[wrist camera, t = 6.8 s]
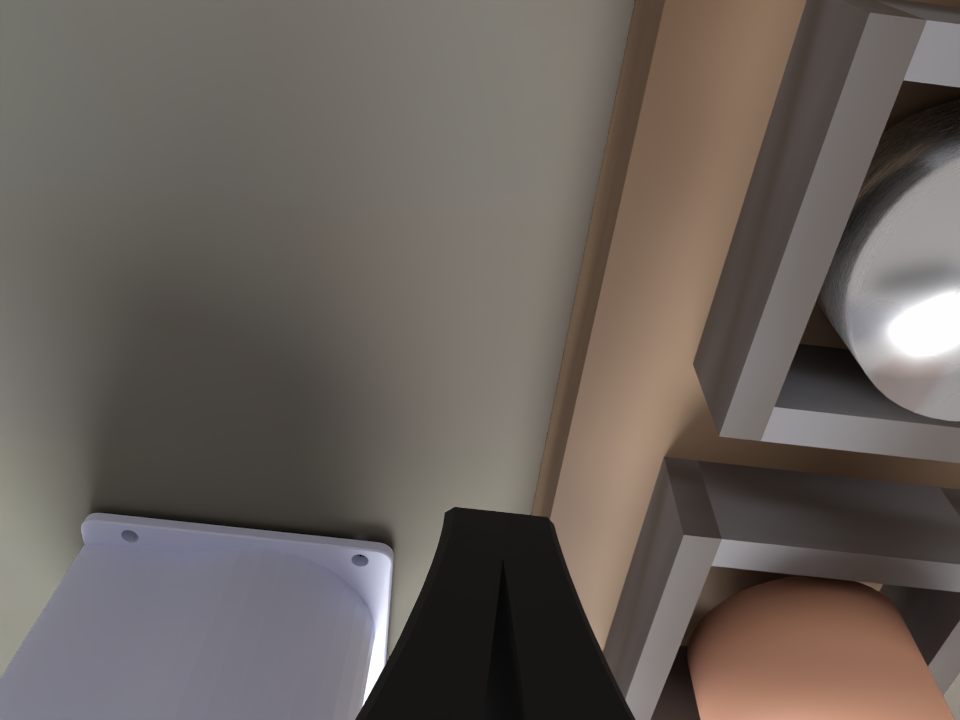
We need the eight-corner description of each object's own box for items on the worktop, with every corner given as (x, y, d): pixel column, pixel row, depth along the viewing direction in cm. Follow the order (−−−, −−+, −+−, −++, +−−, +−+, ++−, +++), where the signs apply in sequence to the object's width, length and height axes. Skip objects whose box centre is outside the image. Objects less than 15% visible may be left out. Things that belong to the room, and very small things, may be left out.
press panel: (512, 604, 25) (513, 769, 21) (667, -159, 14) (743, -169, 10) (869, 641, 26) (946, 811, 21) (1298, -73, 15) (1665, -43, 10)
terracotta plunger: (664, 700, 20) (683, 800, 18) (719, 564, 17) (748, 663, 15) (857, 719, 20) (897, 820, 18) (941, 588, 17) (1001, 689, 15)
